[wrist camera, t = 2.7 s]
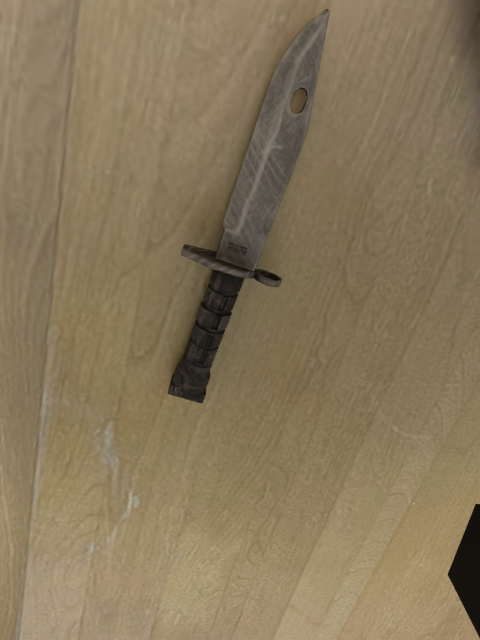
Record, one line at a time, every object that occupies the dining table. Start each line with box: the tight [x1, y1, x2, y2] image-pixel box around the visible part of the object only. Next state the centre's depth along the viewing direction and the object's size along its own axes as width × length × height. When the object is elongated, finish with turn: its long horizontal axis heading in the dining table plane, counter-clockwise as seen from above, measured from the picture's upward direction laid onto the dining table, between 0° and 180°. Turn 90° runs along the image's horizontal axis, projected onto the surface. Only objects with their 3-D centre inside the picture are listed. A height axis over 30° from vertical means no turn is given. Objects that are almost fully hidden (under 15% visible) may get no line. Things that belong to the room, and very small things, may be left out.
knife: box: [168, 9, 330, 403], centre depth 20 cm, size 19×2×5 cm
